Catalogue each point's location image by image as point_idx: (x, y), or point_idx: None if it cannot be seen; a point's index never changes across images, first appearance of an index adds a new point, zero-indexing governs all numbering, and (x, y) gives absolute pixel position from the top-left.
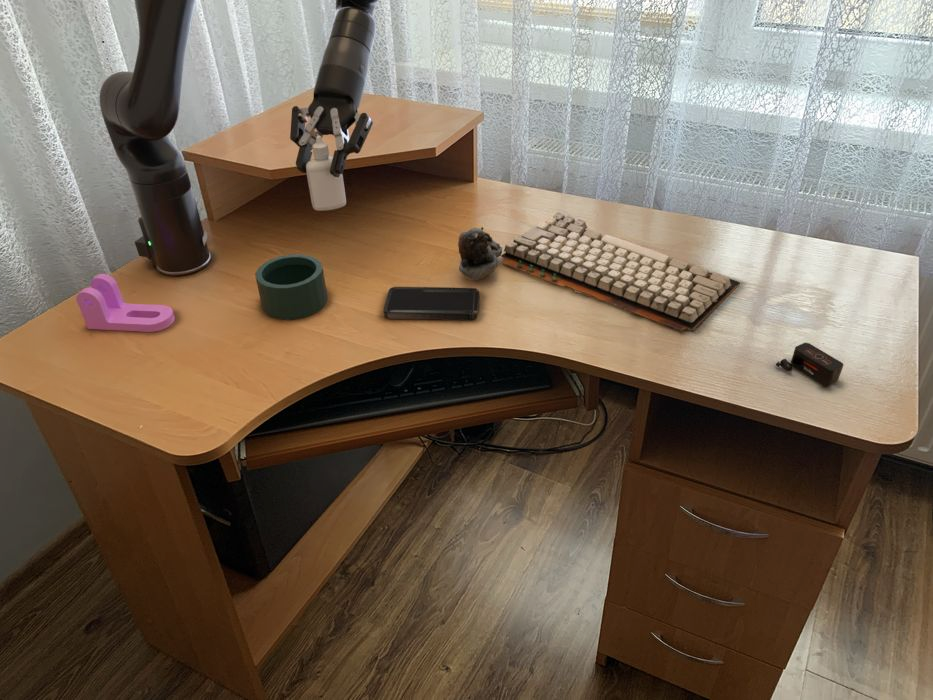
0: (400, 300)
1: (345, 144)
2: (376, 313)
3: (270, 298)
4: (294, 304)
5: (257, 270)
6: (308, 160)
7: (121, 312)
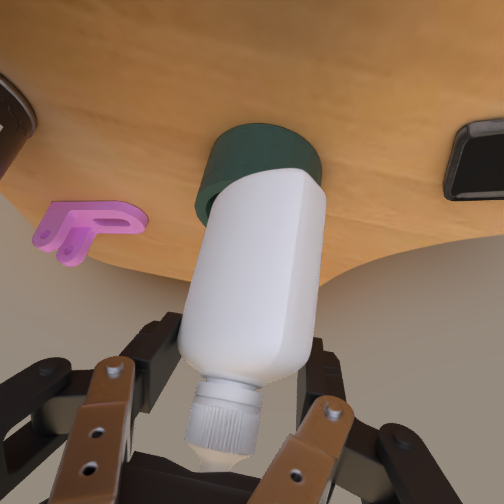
0: (483, 170)
1: (343, 479)
2: (426, 179)
3: None
4: None
5: (202, 222)
6: (167, 348)
7: (87, 221)
